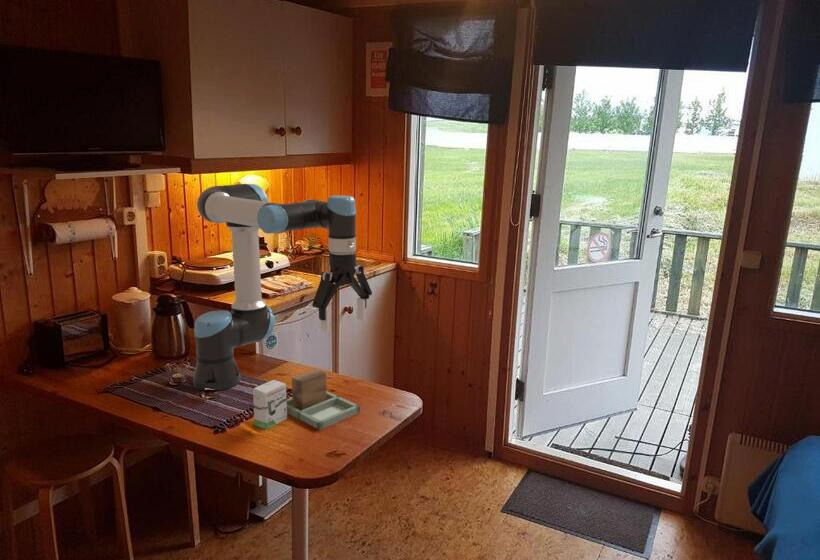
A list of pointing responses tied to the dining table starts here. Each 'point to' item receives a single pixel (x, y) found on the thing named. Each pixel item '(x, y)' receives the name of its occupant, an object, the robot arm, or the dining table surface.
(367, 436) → the dining table surface
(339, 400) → the slot board
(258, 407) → the ink box
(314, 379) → the walnut block
